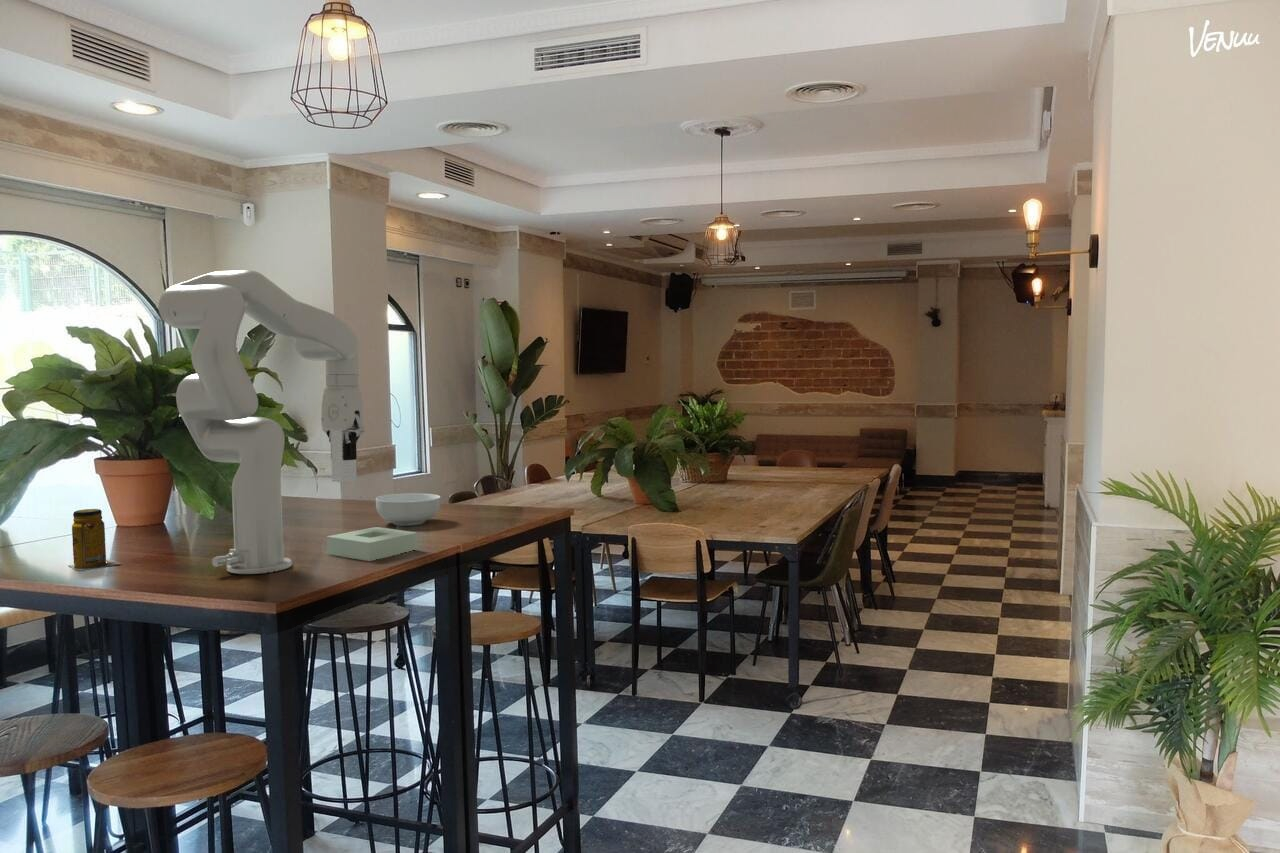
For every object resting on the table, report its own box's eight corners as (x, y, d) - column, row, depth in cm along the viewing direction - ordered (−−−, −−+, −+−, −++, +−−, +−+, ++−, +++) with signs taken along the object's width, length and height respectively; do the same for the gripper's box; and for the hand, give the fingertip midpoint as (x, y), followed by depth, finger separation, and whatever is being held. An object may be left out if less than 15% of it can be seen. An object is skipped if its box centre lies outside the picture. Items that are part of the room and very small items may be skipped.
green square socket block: (369, 561, 207) (368, 542, 206) (327, 554, 214) (326, 536, 214) (417, 550, 218) (417, 532, 218) (376, 543, 226) (375, 526, 226)
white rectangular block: (342, 482, 226) (341, 422, 225) (331, 481, 228) (330, 422, 227) (356, 480, 229) (355, 422, 228) (345, 479, 231) (344, 421, 231)
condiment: (68, 566, 205) (65, 510, 204) (112, 560, 210) (109, 505, 209) (77, 571, 199) (74, 514, 198) (121, 565, 205) (119, 509, 204)
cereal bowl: (425, 529, 244) (424, 502, 244) (364, 528, 248) (364, 500, 247) (451, 518, 261) (450, 492, 260) (394, 517, 264) (393, 491, 264)
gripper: (306, 382, 229) (308, 458, 230) (353, 382, 220) (354, 462, 221) (332, 382, 235) (333, 456, 236) (378, 382, 226) (379, 460, 227)
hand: (343, 458), depth 228 cm, fingers closed on white rectangular block, 4 cm apart
